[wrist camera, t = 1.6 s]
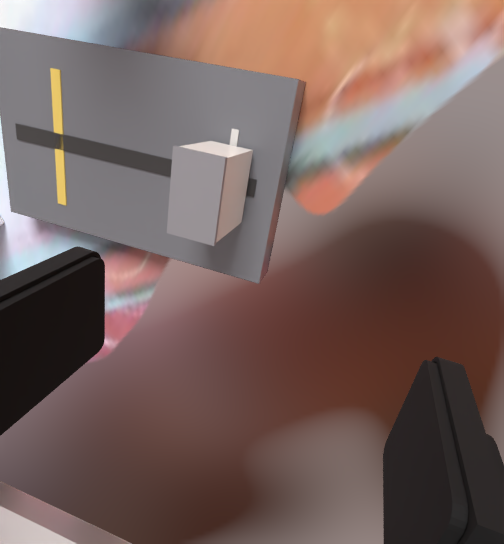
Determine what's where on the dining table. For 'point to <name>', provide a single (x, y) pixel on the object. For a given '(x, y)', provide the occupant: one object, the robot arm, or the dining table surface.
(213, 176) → the block
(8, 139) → the console
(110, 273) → the dining table surface
